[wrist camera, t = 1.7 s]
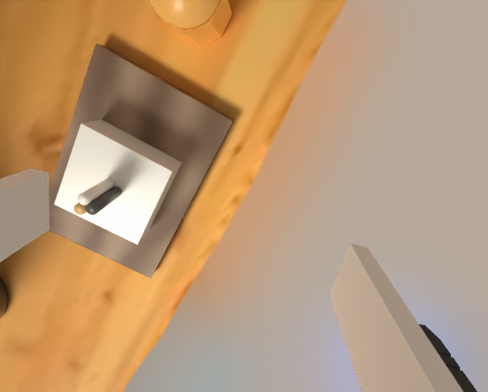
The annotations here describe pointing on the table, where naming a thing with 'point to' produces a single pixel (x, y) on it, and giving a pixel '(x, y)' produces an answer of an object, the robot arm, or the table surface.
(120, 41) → the table surface
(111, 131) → the box
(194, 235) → the table surface
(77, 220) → the mounting board
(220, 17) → the orange acorn nut
